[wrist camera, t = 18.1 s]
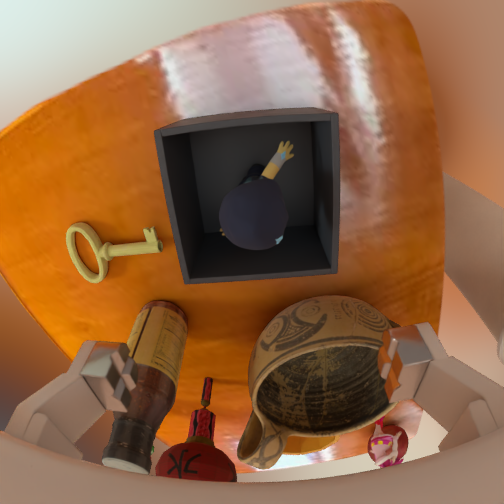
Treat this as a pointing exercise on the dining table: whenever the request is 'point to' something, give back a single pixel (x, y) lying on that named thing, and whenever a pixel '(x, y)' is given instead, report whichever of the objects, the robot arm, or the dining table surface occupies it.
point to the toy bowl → (308, 444)
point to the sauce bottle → (148, 385)
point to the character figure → (257, 206)
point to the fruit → (401, 441)
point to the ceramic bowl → (314, 375)
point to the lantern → (198, 450)
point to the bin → (231, 174)
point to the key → (107, 249)
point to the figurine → (384, 446)
